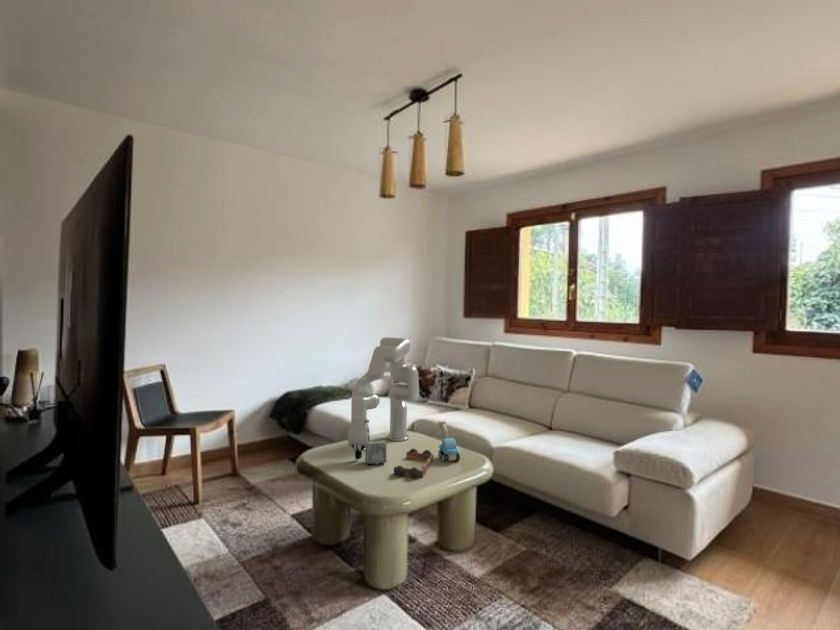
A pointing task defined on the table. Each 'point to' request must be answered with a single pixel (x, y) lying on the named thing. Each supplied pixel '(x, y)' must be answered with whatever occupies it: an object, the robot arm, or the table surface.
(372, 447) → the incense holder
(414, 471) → the chassis bay
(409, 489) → the table surface
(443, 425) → the toy excavator
